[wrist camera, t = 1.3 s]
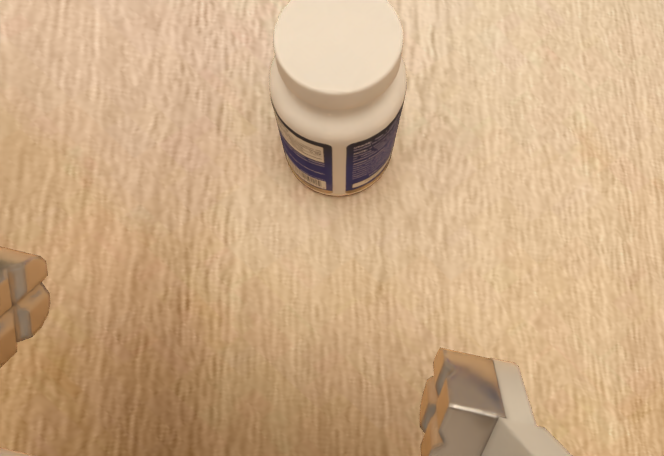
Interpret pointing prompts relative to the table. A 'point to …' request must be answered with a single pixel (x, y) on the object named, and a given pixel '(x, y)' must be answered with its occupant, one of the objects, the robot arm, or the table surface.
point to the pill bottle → (338, 90)
